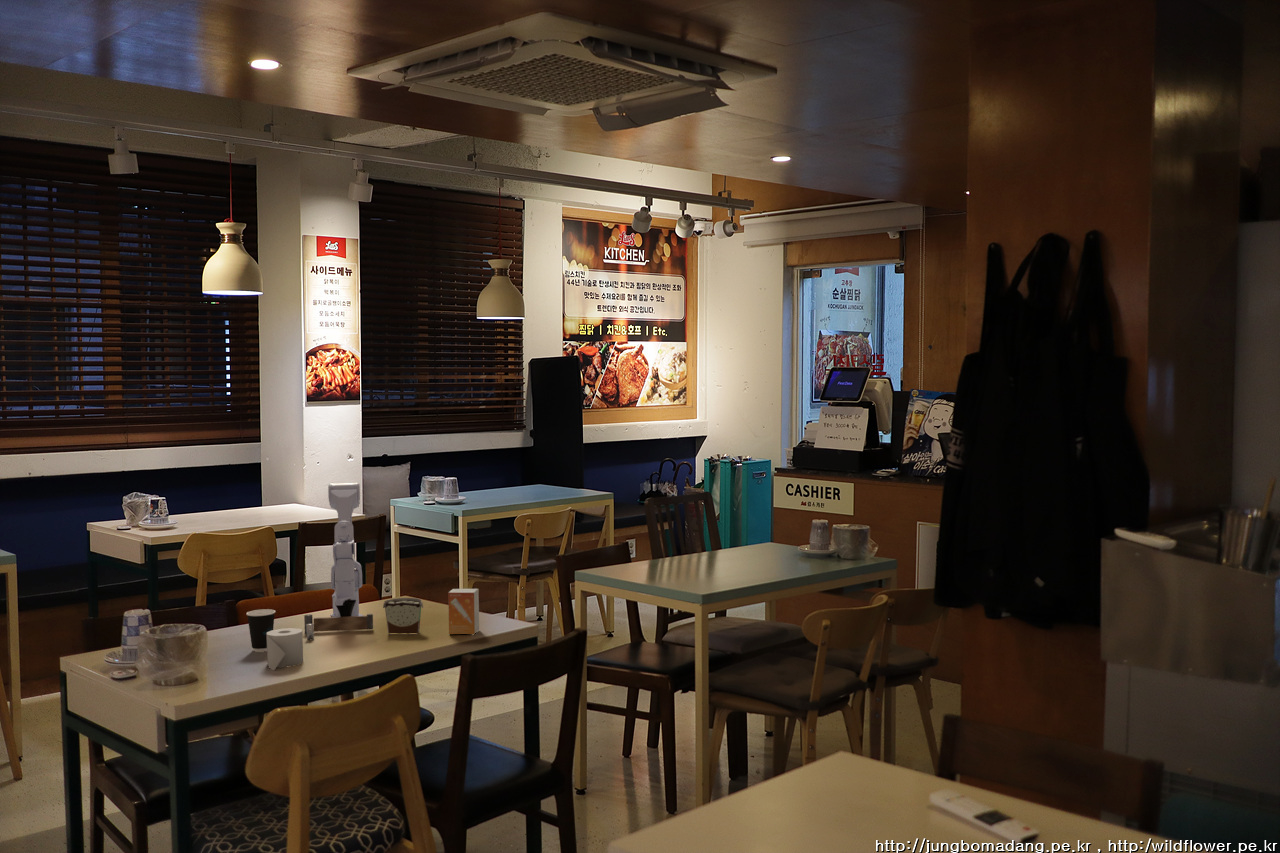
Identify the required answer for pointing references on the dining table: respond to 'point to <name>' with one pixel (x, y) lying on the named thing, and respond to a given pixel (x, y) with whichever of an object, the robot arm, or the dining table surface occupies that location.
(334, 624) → the brown long bar
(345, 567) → the robot arm
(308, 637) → the post
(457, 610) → the small box
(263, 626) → the dixie cup
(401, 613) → the food container
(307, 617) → the hinge post
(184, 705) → the dining table surface
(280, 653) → the toilet tissue
